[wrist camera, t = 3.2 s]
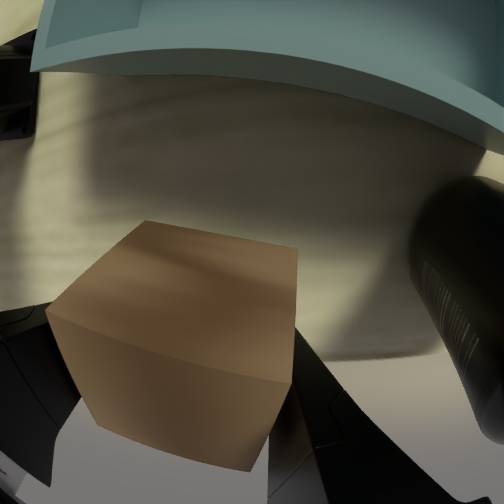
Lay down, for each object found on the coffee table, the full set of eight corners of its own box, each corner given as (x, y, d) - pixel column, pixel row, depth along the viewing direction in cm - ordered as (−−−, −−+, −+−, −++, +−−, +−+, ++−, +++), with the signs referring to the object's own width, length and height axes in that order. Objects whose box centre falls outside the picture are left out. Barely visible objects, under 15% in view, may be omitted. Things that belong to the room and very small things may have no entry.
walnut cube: (151, 331, 11) (97, 425, 7) (145, 220, 9) (44, 310, 5) (268, 359, 11) (249, 472, 7) (297, 249, 9) (291, 383, 4)
